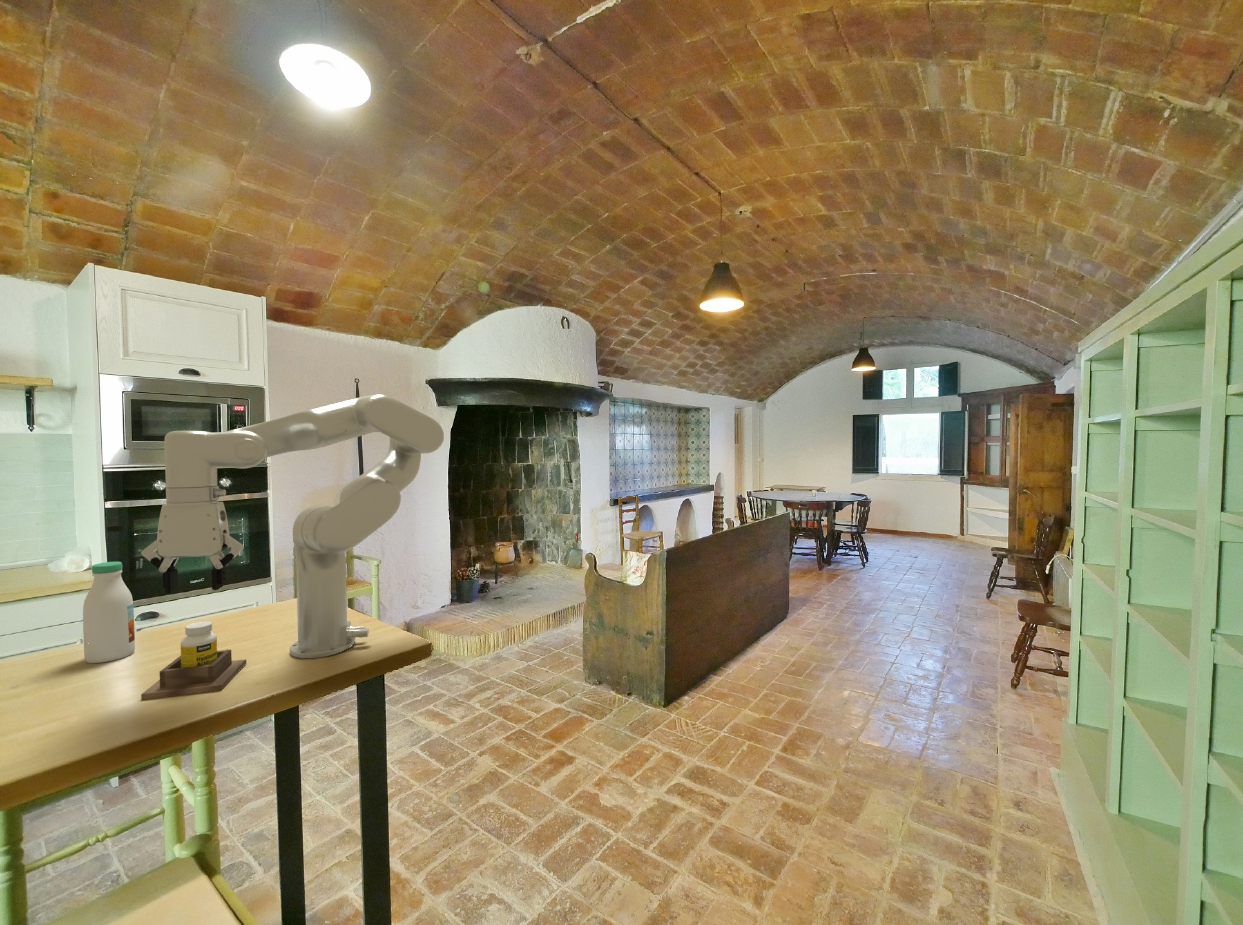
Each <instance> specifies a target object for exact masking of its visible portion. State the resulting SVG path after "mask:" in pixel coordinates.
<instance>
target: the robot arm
mask: <svg viewBox="0 0 1243 925" xmlns="http://www.w3.org/2000/svg"><path fill="white" fill-rule="evenodd" d="M372 433H381V434H384V435H385V436H388V437H389V446H388V451H387V454H386V456H384V457H383V458H382V459H381V461H379V462H378V463H377V464H375V465H373V466H372V467H370V469H368V470H366V471H365V472H363V473H362V474H361V475H359V476H358V477H356V478H354V479H353V480H351V481H350V482H348V483H347V484H346V485H345V486H344V487H343V488H342V490H341V492H340V495H339V503H338V504H336V505H335V506H334V507H333V506H329V505H324V504H323V505H321V504H320V505H312V506H309V507H307V508H305V509H303V510H302V511H301V512H300V513H299V514H298V515H297V516H296V518H295V519H294V523H293V526H292V541H293V547H294V553H295V564H296V603H297V604H296V607H297V609H296V610H297V611H296V612H297V613H296V614H297V641H295V642H294V643H293V644H291V646H290V647H289V653H290V655H291V656H292V657H294V658H298V659H319V658H325V657H329V656H333V655H337V654H340V653H342V651H343V652H344V650H345V651H347V650H349V649H350V648H351V647H350V646H351V645H353V644H354V642H355V643H356V638H368V637H369V627H365V625H364V626H363V625H362V626H353V625H352V622H351V620H349V621H348V609H347V608H348V606H347V605H348V601H347V599H348V598H347V597H348V595H347V560H346V553H347V552H348V551H351V549H353V548H355V547H356V546H358V545H359V544H360V543H362V542H363V541H364V540H366V539H367V538H368V537H369V536H371V535H372V534H374V533H375V532H376V531H377V530H378V529H380V528H381V527H383V526H384V524H387V523H388V522H389V521H390V520H391V519H392V518H393V516H395V514H396V513H397V512H398V510H399V508H400V505H401V500H402V498H401V497H402V496H401V492H402V491H403V490H404V489H405V488H407V487H408V486H409V485H411V483H412V482H413V481H414V480H415V479H416V477H417V476H418V473H419V470H420V465H421V462H422V460H421V459H422V454H430V453H434V452H436V451H437V450H438V449H439V448H440V447H441V446H442V444H443V443H444V438H445V433H444V430H443V428H442V426H441V425H440V423H439V422H438V421H437V420H435V419H434V418H433V417H431V416H429V415H427V414H425V413H423V412H421V411H419V410H416V409H415V408H413V407H411V406H409V405H407V404H405V403H403V402H402V401H400V400H397V399H396V398H394V397H391V396H389V395H386V394H371V395H364V396H360V397H356V398H351V399H347V400H343V401H339V402H336V403H331V404H326V405H324V406H319V407H314V408H310V409H307V410H302V411H299V412H298V411H297V412H296V413H293V414H289V415H286V416H283V417H279V418H276V419H272V420H267V421H264V422H260V423H255V424H251V425H247V426H243V427H239V428H235V429H231V430H227V431H221V432H220V431H219V432H210V431H208V430H207V431H205V430H174V431H173V430H172V431H169V432H167V433H166V434H165V436H164V466H165V469H164V470H165V500H166V503H165V504H162V506H161V510H160V514H159V517H158V518H159V519H158V525H157V536H156V537H157V538H156V539H155V540H153V541H152V543H150V544H149V545H147V546H146V547H145V548H144V549H143V550H141V551H140V553H141V555H142V556H143V557H144V558H145V559H146V560H147V561H149V562H150V564H152V565H153V566H154V567H156V568H157V570H158V571H159V572H160V573H162V587H163V588H164V589H165V591H164V592H165V594H171V593H174V592H176V591H177V590H178V589H179V570H178V568H176V564H177V563H178V560H179V559H180V558H193V557H194V558H195V557H208V559H209V560H210V561H211V563H212V564H213V569H212V570H211V590H212V591H218V590H219V589H221V588H222V587H223V586H224V584H226V579H227V578H226V577H227V576H226V566H228V564H230V563H231V562H232V561H233V560H234V559H235V558H236V557H237V556H238V555H239V553H241V552H242V550H244V549H245V546H244V544H242V543H241V542H240V541H238V540H236V539H235V538H234V537H232V536H231V535H230V528H229V522H228V515H227V512H226V507H225V504H224V501H218V500H219V499H220V498H221V497H225V496H226V495H227V491H226V489H225V488H224V489H221V488H220V487H219V485H218V468H219V467H220V468H232V469H249V468H254V467H256V466H258V465H259V464H260V463H262V462H263V461H264V459H266V458H271V457H273V456H277V455H282V454H287V453H290V452H298V451H308V450H309V451H310V450H317V449H321V448H325V447H328V446H331V445H335V444H338V443H341V442H346V441H348V440H352V439H354V438H358V437H362V436H366V435H369V434H372ZM229 549H230V551H229V552H228V553H226V555H225V554H224V553H223V552H225V551H227V550H229ZM354 645H355V644H354ZM354 645H353V646H354ZM348 648H349V649H348ZM346 649H347V650H346ZM339 652H340V653H339Z"/></svg>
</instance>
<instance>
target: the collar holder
mask: <svg viewBox="0 0 1243 925" xmlns="http://www.w3.org/2000/svg"><path fill="white" fill-rule="evenodd" d="M245 664H246V665H247V659H246V658H245V659H237V660H233V659H232V649H224V650H217V659H216V660H215V661H214V662H213V663H212V664H210V665H204V666H195V667H185V668H181V655H179V656H178V657H176V659H174V660H173V661H171V663H169V664H168V665H166V666H165V667H164V668H162V669H161V670H160V671H159V679H158V681H156V682H155V683H154V684H152V685H151V686H150V687H149V688H147V689H146V690H145V691H144V692H142V693H141V694H140V699H141V701H143V700H152V699H153V700H154V699H160V697H162V698H168V697H175V696H176V697H178V696H187V695H193V694H192V693H195V694H200V693H199V692H204V693H209V692H210V693H212V692H219V690H220V691H223V690H224V689H225V687H226V686H227V685H228V684H229V683H231V681H232V680H233V679H234V678H235V677H236V676H237V675H238V674H239V673H238V672H240V671H242V669H243V668H244V667H245V666H246V665H245ZM243 666H244V667H243ZM241 668H242V669H241ZM239 670H240V671H239ZM237 673H238V674H237ZM236 674H237V675H236ZM235 675H236V676H235ZM233 677H234V678H233Z"/></svg>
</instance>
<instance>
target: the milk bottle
mask: <svg viewBox="0 0 1243 925" xmlns="http://www.w3.org/2000/svg"><path fill="white" fill-rule="evenodd" d="M91 573H92V574H91V575H92V577H93V580H92V584H91V586H90V589H89V591H88V592H87V594H86V595H85V596H86V597H85V599H84V600H83V601H84V602H83V606H82V608H83V609H82V624H83V625H82V626H83V628H82V630H83V631H82V632H83V634H82V635H83V653H84V655H83V656H84V661H85V662H86V663H89V664H100V663H101V664H102V663H107V662H108V663H109V662H113V661H116V660H121V659H123V658H126V657H128V656H130V655H133V654H134V652H135V650H136V639H135V633H136V632H135V615H134V614H135V613H134V612H135V609H134V600H133V595H132V593H131V591H130V589H129V588H128V587H127V585H126V583H125V582H124V580H123V577H122V573H123V562H121V561H105V562H100V563H95V564H93V565H92V566H91ZM88 643H89V644H88Z"/></svg>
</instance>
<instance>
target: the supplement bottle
mask: <svg viewBox="0 0 1243 925" xmlns="http://www.w3.org/2000/svg"><path fill="white" fill-rule="evenodd" d="M184 628H185V631H184V632H185V635H186V636H185V637H183V638H182V639H181V640H180V656H181V668H185V667H195V666H204V665H210V664H212V663H213V662H214V661H215V660H216V659H217V651H218V641H217V640H218V639H217V638H218V637H217V634H216V633H215V632H212V631H213V622H212V621H210V620H209V621H208V620H207V621H205V620H204V621H197V622H193V623H189V624H187V625H185V627H184Z"/></svg>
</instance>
